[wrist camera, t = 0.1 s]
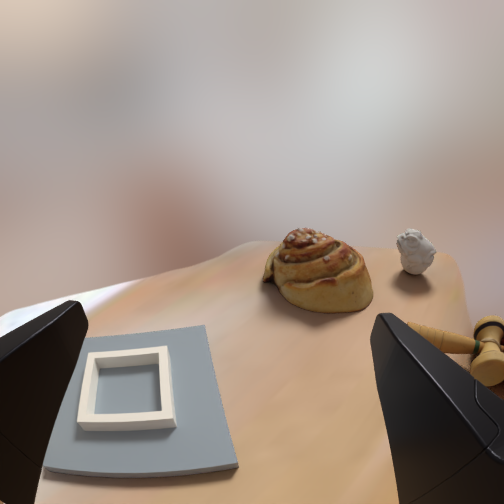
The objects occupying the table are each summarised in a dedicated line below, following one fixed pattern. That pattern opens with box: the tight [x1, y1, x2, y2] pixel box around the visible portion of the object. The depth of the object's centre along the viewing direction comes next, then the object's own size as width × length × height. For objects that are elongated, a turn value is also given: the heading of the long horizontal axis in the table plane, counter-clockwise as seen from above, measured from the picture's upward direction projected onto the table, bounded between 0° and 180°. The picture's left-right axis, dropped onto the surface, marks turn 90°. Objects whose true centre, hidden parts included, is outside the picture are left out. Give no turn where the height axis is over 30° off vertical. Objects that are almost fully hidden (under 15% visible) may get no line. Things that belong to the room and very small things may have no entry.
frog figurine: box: [397, 229, 436, 275], centre depth 40 cm, size 6×7×7 cm
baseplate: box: [43, 325, 239, 478], centre depth 22 cm, size 16×16×3 cm
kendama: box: [407, 316, 504, 387], centre depth 23 cm, size 8×6×18 cm
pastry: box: [263, 228, 373, 313], centre depth 38 cm, size 13×15×8 cm
